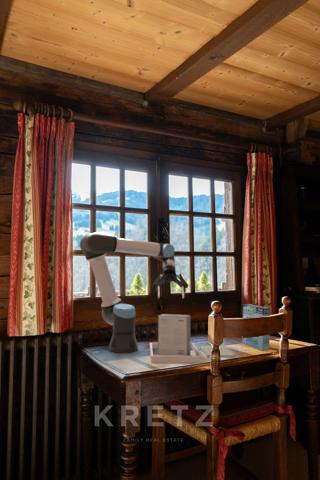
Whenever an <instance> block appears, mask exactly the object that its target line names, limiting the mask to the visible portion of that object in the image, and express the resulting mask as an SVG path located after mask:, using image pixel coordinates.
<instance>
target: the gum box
mask: <svg viewBox="0 0 320 480" xmlns="http://www.w3.org/2000/svg"><path fill="white" fill-rule="evenodd" d="M270 314H271V308H270V307H265V306H260V305H256V304H251V303H245V304H244V303H242V319H243V318H249V317H261V316H270V317H271V315H270ZM270 340H271V339H270V335H265V336H259V337H253V338H244V339H243V338H242V344H243V345H247V346H249V347H252V348H254V349H256V350H259V349H260V350H259V351H261V350H269V351H270Z"/></svg>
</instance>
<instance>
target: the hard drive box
mask: <svg viewBox="0 0 320 480" xmlns="http://www.w3.org/2000/svg"><path fill="white" fill-rule="evenodd" d="M157 343H158V349H157V356H191V349H190V343H191V315H190V314H175V313H173V314H171V313H170V314H167V313H165V314H164V313H162V314H159V315H158V316H157Z"/></svg>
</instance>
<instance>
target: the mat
mask: <svg viewBox="0 0 320 480" xmlns="http://www.w3.org/2000/svg"><path fill="white" fill-rule="evenodd" d="M212 346H213V345H200V350H201V351H202V352H203V354H204V355H205V356H206V358H211V357H210V356H211V350H212ZM219 346H220V351H221V357H220V358H235V357H236V355H235V354H234V352H232V350H230V349H229V347H227V346H226V345H219Z"/></svg>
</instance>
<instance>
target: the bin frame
mask: <svg viewBox="0 0 320 480" xmlns="http://www.w3.org/2000/svg"><path fill="white" fill-rule="evenodd" d="M154 350H158V342H149V355H150V363H152V364H154V363H155V364H157V363H158V364H163V363H166V364H168V363H169V364H170V363H171V364H173V363H174V364H175V363H176V364H177V363H178V364H181V363H183V364H185V363H186V364H190V363H191V364H194V363H195V364H197V363H198V364H199V363H200V364H202V363H203V355H202V353H201V352H200V351H199V349H198V348H197V346H196V344H195V343H194V342H190V350H192V351H193V353H194V354H195V355H189V356H161V355H154Z"/></svg>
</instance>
